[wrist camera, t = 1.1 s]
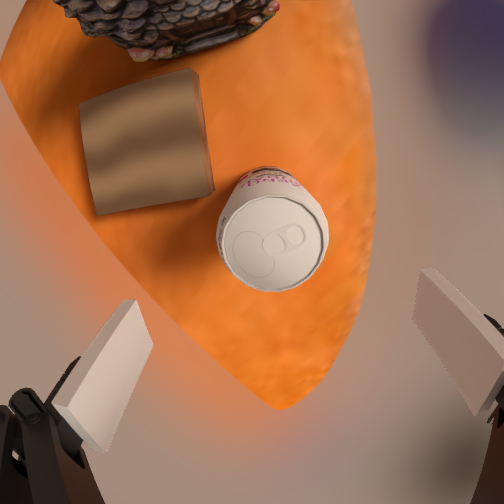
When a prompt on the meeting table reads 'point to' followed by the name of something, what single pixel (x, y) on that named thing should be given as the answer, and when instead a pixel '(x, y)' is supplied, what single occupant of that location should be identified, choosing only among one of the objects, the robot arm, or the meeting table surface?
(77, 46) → the meeting table surface
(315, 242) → the supplement can
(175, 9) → the decorative house
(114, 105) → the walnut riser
